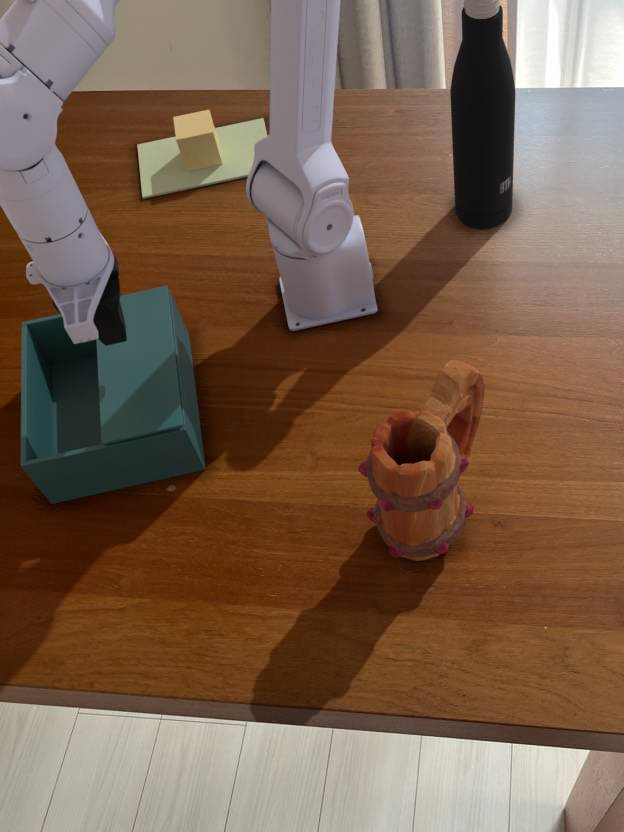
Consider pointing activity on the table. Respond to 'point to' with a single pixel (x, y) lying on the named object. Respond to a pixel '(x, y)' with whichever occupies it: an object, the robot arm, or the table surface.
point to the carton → (94, 418)
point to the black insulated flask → (483, 118)
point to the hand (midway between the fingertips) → (115, 338)
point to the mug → (425, 466)
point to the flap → (140, 371)
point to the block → (197, 140)
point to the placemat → (169, 173)
